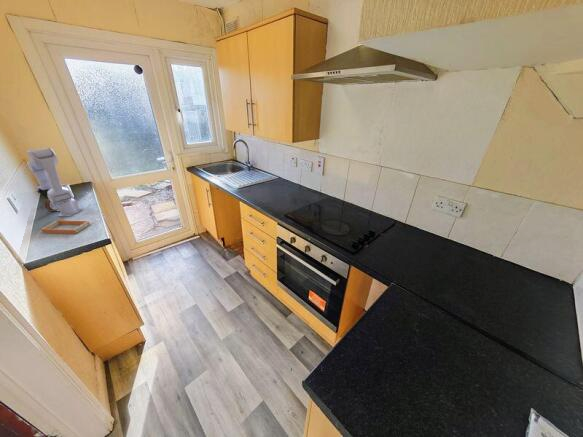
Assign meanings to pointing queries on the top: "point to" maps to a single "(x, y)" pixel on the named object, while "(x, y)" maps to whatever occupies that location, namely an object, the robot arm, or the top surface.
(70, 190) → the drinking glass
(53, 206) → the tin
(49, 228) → the wooden frame
